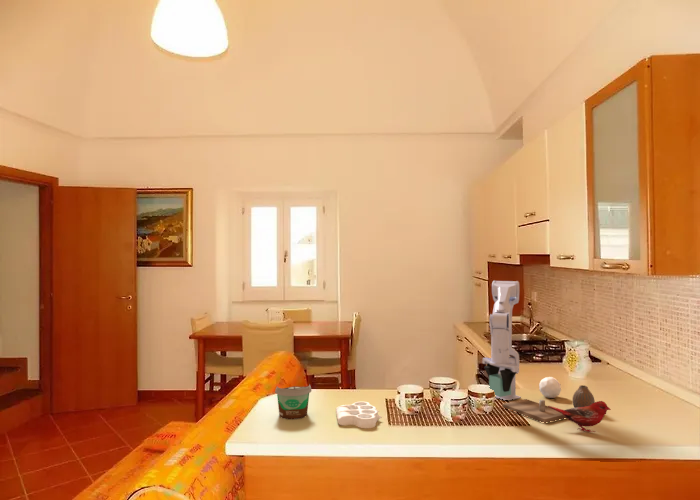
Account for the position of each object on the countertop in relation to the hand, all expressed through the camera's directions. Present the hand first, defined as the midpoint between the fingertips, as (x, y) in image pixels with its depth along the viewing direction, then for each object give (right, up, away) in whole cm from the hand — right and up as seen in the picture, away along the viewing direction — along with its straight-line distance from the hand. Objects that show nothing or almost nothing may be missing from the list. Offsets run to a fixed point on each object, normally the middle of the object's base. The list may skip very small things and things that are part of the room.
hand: (500, 389), depth 165 cm
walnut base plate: (+13, -9, +3) cm, 16 cm away
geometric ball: (+26, -9, +21) cm, 34 cm away
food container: (-69, -9, -2) cm, 70 cm away
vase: (+30, -9, +4) cm, 32 cm away
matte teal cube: (0, -2, 0) cm, 2 cm away
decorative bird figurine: (+20, -9, -14) cm, 26 cm away
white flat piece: (-48, -9, -3) cm, 49 cm away
